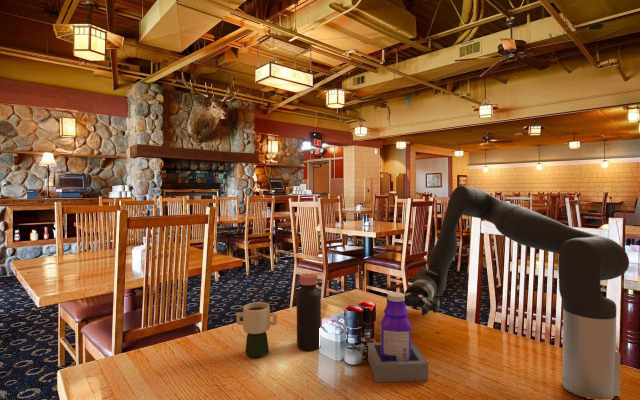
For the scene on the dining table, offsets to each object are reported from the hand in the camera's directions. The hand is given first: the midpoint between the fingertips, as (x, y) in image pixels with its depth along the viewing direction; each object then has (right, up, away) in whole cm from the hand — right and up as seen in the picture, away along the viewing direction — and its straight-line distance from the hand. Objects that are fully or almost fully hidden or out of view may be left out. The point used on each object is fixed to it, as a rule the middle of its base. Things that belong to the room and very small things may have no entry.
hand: (406, 309), depth 99 cm
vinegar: (-27, -12, +4) cm, 29 cm away
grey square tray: (-5, -12, -9) cm, 16 cm away
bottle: (-5, -11, -9) cm, 15 cm away
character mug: (-40, -12, -1) cm, 42 cm away
